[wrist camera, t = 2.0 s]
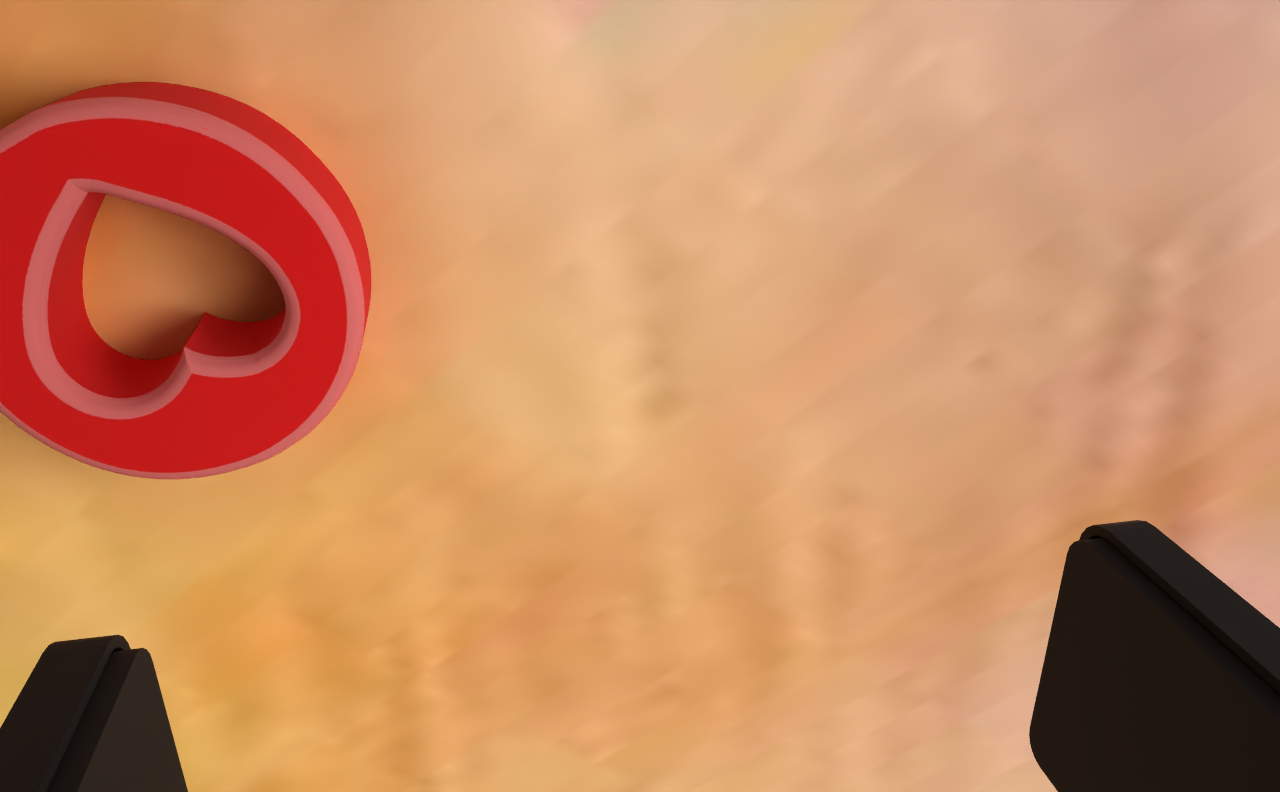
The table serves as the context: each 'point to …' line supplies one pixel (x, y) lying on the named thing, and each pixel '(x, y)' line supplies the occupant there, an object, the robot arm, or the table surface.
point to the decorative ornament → (217, 349)
